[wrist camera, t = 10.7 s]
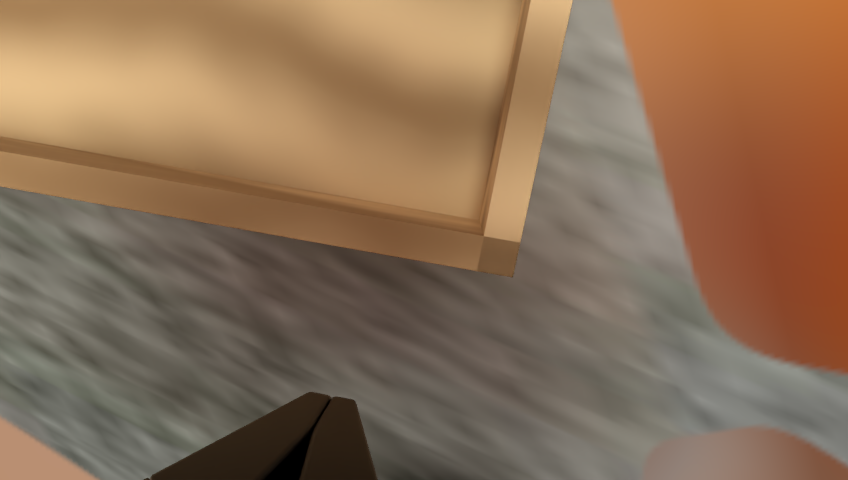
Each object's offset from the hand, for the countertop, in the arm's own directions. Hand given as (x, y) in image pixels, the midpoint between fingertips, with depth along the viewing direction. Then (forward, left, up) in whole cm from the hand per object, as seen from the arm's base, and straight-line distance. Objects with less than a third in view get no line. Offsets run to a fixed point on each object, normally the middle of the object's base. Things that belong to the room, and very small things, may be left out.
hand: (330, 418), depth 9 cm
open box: (+7, +7, -12) cm, 16 cm away
